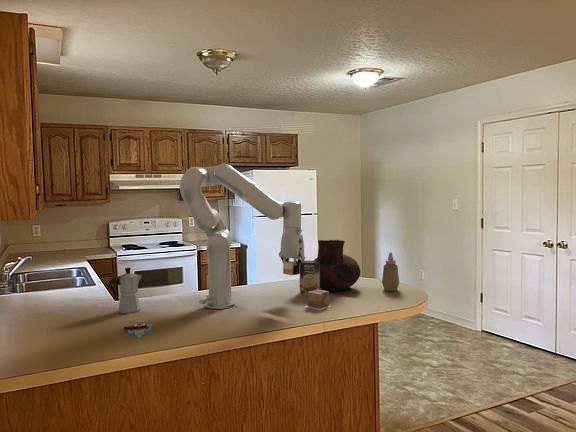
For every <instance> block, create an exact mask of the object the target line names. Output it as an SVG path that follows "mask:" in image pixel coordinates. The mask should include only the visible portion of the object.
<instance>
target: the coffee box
mask: <svg viewBox="0 0 576 432" xmlns="http://www.w3.org/2000/svg"><path fill="white" fill-rule="evenodd" d="M317 289H319V290H321V289H320V261H314V260H304V261H303V262H302V263H301V265H300V274H299V296H308V292H309V291H313V290H317Z"/></svg>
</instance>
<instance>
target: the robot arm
mask: <svg viewBox="0 0 576 432" xmlns="http://www.w3.org/2000/svg"><path fill="white" fill-rule="evenodd" d="M220 185H222V186H223V187H224V188H226V189H227V190H229V191H230V192H232V193H233V194H234V195H235V196H236V197H238V198H240V199H241V200H242V201H243V202H245V203H247V204H248V205H250V206H251V207H252V208H253V209H255V210H256V211H258V212H259V213H260V214H262V215H263V216H265V217H266V218H268V219H269V220H272V221H273V220H274V221H275V220H278V219H280V218H283V219H282V222H283V226H282V227H283V228H282V234H281V240H280V252H278V256H279V258H280V260H281V261H282V263H283V262H286V261H290V259H293V261H294V266H293V275H292V276H297V275H300V274H299V269H300V265H301V263H302V262H303V261H306V256H305V243H304V236H303V234H301V233H303V229H302V204H301V202H299V201H279V200H275V199H274V198H272V197H271V196H270V195H268V194H266V193H265V192H264V191H263V190H262V189H260V188H259V186H258V185H257V184H256V183H255V182H254V181H253V180H251V179H249V178H248V177H246V176H245V175H244V174H242V173H241V172H239V171H238V170H237V169H235V168H234V167H233V166H232V165H230V164H227V163H220V164H218V165H213V166H212V165H211V166H202V167H200V166H192V167H190V168H188V169H187V170H186V171H185V172H184V173H183V175H181V178H180V183H179V192H180V195H181V197H182V200H183V201H184V204H185V205H186V207H187V210H188V211H189V213H190V215H191V217H192V219H193V221H194V222H195V224H196V226H197V227H198V229H199V230H201V231H203V232H204V233H205V235H206V237H207V240H206V255H207V280H208V281H207V282H208V295H206V298H204V299H200V300H199V305H201V306H202V305H204V304H205V307H206V308H207V309H212V310H223V309H229V308H232V307H235V304H236V301H235V300H233V299H232V269H231V267H232V266H231V265H232V264H231V246H232V243H233V238H232V235H231V232H230V231H229V228H228V227H227V225H226V223H225V222H224V219H223V218H222V216H221V214H220V212H218V211H217V210H216V209H215V208H214V207H213V208H212V206H210V204H209V202H208V200H207V198H206V196H205V195H204V193H203V191H202V188H204V187H213V186H220Z"/></svg>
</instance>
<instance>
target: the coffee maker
mask: <svg viewBox="0 0 576 432" xmlns="http://www.w3.org/2000/svg"><path fill="white" fill-rule="evenodd" d="M124 271H125V273H123V274H121V275H118V276H114V277H113V278H111V279H109V281H108V283H107V286H108V288H109V289H110V291H111V292H112V293H113V295H114V296H115V297H118V296H119V293H118V292H117V290H116V289H115V288H114V287H113V286H112V285H118V286H119V287H118V288H119V292H120V297H119V305H118V311H117V312H118V313H119V314H123V315H124V314H125V315H126V314H127V315H129V314H135V313H138V312H140V311H141V304H140V300H139V295H138V293H137V292H138V291H139V289H138V288H139V283H140V281H141V279H142V277H143V275H141V274H136V273H131V267H125V268H124Z"/></svg>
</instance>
